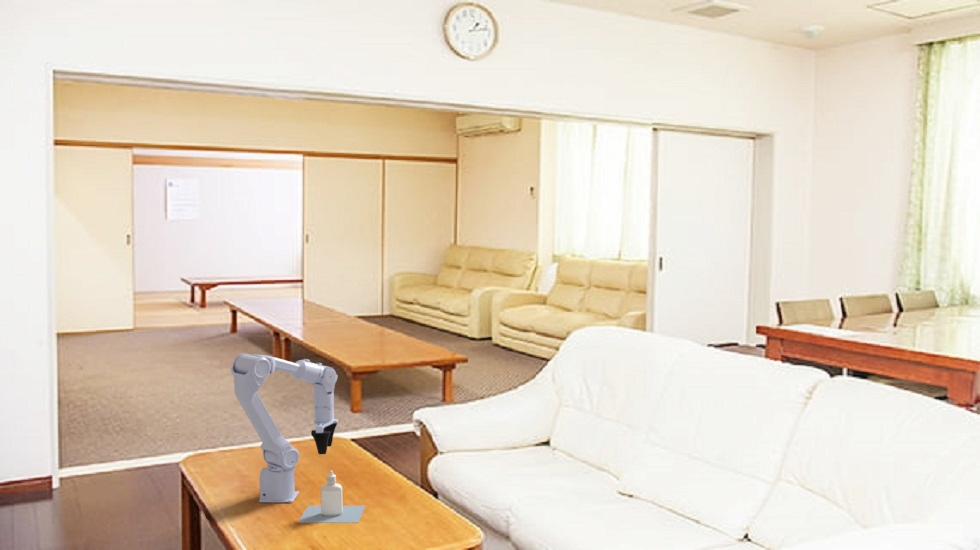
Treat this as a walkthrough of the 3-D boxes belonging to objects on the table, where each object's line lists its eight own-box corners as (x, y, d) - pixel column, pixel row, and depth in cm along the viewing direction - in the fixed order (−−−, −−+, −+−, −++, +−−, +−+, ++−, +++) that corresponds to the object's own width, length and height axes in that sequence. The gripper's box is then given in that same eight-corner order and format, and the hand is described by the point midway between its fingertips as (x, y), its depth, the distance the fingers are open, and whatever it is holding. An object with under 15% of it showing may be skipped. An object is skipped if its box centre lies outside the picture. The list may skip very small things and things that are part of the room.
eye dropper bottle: (335, 518, 218) (334, 474, 217) (318, 514, 220) (317, 471, 219) (345, 512, 222) (344, 469, 221) (328, 509, 224) (327, 467, 223)
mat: (297, 522, 215) (297, 522, 215) (308, 505, 227) (308, 505, 227) (358, 522, 215) (358, 522, 215) (365, 506, 227) (365, 505, 227)
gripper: (332, 411, 236) (333, 457, 237) (342, 399, 250) (342, 442, 251) (308, 411, 236) (309, 457, 237) (319, 399, 250) (320, 442, 251)
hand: (325, 449), depth 244 cm, fingers open, 7 cm apart
